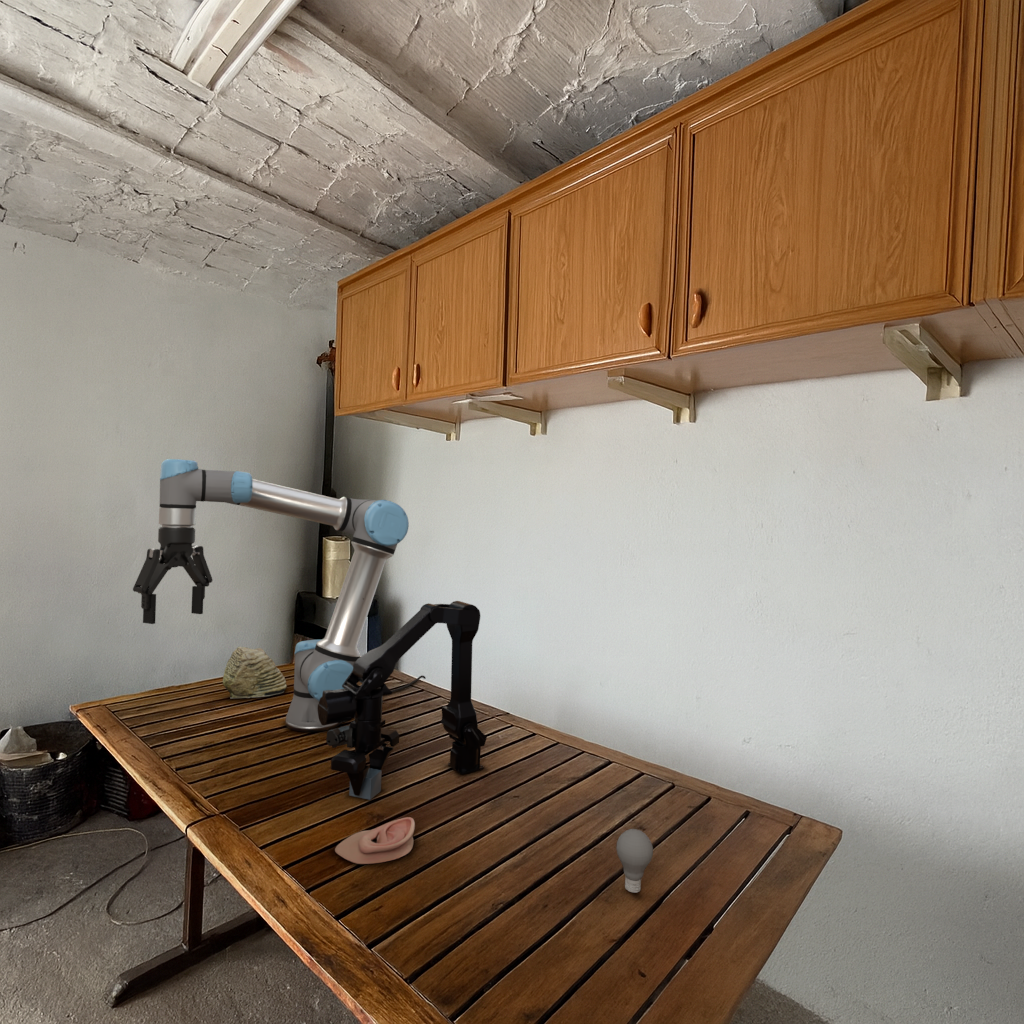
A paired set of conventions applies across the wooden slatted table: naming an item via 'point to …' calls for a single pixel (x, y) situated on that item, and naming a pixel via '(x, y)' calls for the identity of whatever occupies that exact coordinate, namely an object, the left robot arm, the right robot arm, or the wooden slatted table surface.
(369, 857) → the anatomical model
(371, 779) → the block
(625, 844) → the light bulb
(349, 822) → the wooden slatted table surface
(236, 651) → the fossil
